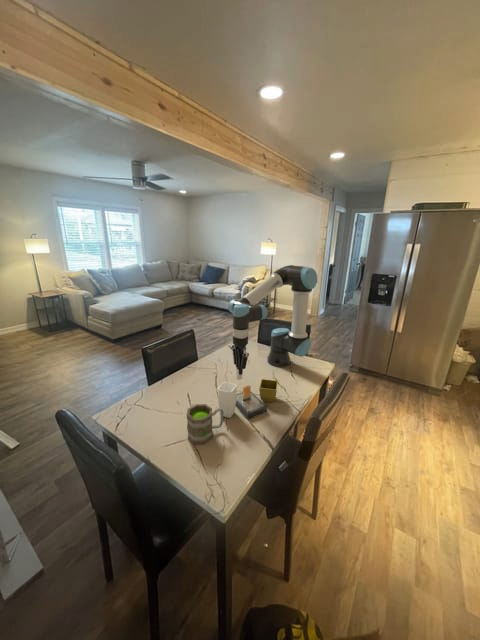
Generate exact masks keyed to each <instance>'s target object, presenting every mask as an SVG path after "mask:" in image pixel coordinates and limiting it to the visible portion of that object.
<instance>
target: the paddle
mask: <svg viewBox="0 0 480 640" xmlns="http://www.w3.org/2000/svg"><path fill="white" fill-rule="evenodd" d="M250 391H251V392H252V390H251V385H249V384H248V385H246V386H242V392H243V397H242V399H243V400H245V399H248V398H251V395H250Z"/></svg>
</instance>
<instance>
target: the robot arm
mask: <svg viewBox="0 0 480 640" xmlns="http://www.w3.org/2000/svg"><path fill="white" fill-rule="evenodd" d="M317 283H318V274H317V271H316V270H315V269H314V268H312V267H309V266H304V265H303V266H301V265H293V264H290V265H285V266H282V267H280V268H279V269H277V270H275V271H274V272H272V273H271V274H269V277H268V278H267V279H264V280H263V281H262V282H261V283H260V284H258V285H257V286H255V287H254V288H253V289H251V290H250V291H249V292H247V293H246V294H245V295H243V296H242V297H241V298H239V299H231V300H230V301H229V303H228V306H227V309H228V311H229V312H230V313H232V344H233V345H231V349H232V356H233V365H235V370H236V373H235V375H236V376H235V377H236V378H235V379H236V381H240V380H243V372H244V371H243V370H245V369H246V368H247V362H248V358H249V356H250V353H249V352H247V345H248V344H249V328H250V326H249V325H250V323H254V322H258V321H263V320H265V319H266V318H267V316H268V313H269V312H268V308H267V307H266V306H265V305H264V304H259V302H261V301H262V300H263V299H264V298H266V297H267V296H268V295H270V294H271V293H272V292H274V291H275V290H276V289H278V288H282V287H283V286H291V291H292V293H293V298H292V299H293V301H292V314H291V329H290V328H286V327H278V328H274V329H272V330H271V335H270V350H269V354H268V355H267V361H266V362H267V363H268V364H269V365H271V366H274V367H281V368H283V367H287V366H289V365H290V363H291V359H290V358H291V357H290V354H292V355H294V356H298V357H301V358H303V357H305V356H306V355H307V354H308V352H309V351H311V350H310V349H311V347H312V341H311V340H310V339H309V337H308V333H307V332H306V331H307V322H308V321H307V320H308V309H309V308H308V306H309V298H310V297H309V296H310V294H311V293H312V292H313V289H315V288H316V285H317Z"/></svg>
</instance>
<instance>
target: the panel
mask: <svg viewBox="0 0 480 640" xmlns="http://www.w3.org/2000/svg"><path fill="white" fill-rule="evenodd" d="M250 395H251V398H248V399H245V400H243V399H242V397H243V391H242V392H239V393H236V406H235V408H237V410H239V412H240V413H241V414H242V415H243V416H244V417H245V418H246V420H250V419H253V418H255V417H257V416H259V415H263V414H265V413H267V412H268V406H267V404H265V403H264V401H262V399H261V398H259V397H258V396H256V395H255V394H254V393H253V392H252V390H251V391H250Z"/></svg>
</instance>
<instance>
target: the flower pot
mask: <svg viewBox="0 0 480 640" xmlns="http://www.w3.org/2000/svg"><path fill="white" fill-rule="evenodd" d="M259 384H260V385H259V388H258V389H259V397H260V400H261V401H262V402H268V403H273V402H274V400H276V398H277V397H276V396H277V392H278V391H277V390H278V384H279V382H278V380H274V379H273V380H272V379H266V378H261V379H260V383H259Z"/></svg>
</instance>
